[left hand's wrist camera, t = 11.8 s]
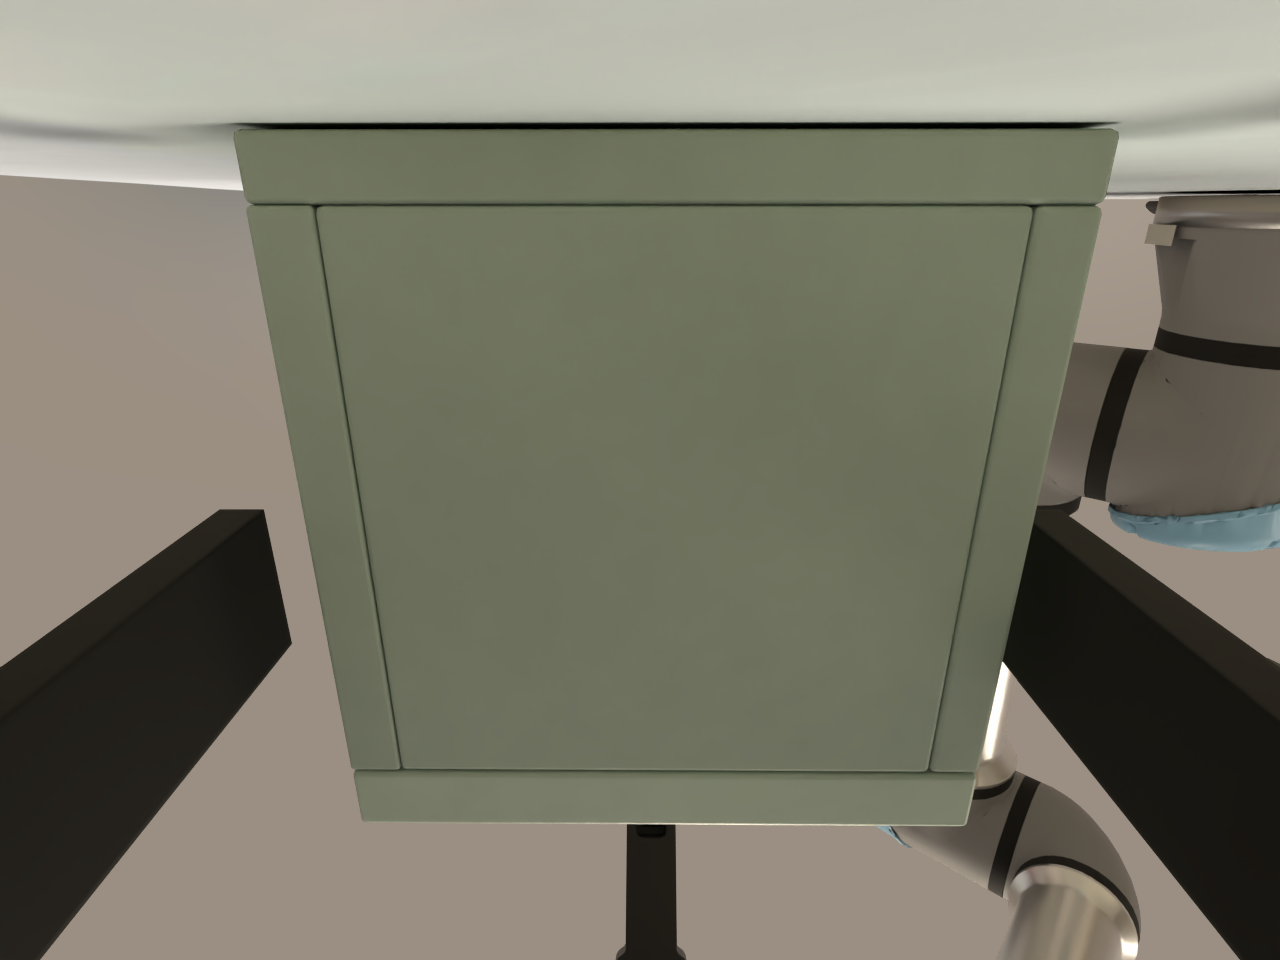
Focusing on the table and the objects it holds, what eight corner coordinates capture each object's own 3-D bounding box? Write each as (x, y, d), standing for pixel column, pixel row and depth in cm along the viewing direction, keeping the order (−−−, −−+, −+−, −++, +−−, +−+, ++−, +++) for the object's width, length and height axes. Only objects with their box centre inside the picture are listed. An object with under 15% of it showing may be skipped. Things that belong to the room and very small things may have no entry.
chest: (835, 175, 20) (807, 480, 23) (479, 175, 20) (502, 479, 24) (1124, 127, 8) (980, 774, 11) (228, 128, 8) (350, 771, 11)
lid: (802, 473, 24) (784, 668, 27) (507, 472, 24) (521, 667, 27) (979, 777, 11) (910, 1087, 14) (350, 773, 11) (409, 1082, 14)
